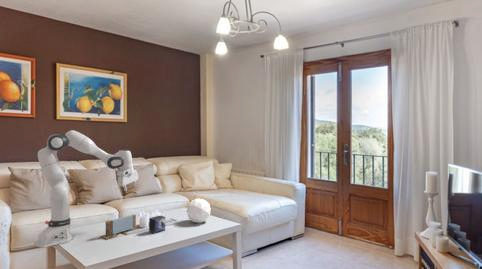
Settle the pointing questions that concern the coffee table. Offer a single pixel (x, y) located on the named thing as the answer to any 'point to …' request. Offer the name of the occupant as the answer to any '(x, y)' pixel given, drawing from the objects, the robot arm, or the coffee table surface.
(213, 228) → the coffee table surface
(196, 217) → the geometric orb
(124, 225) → the gate
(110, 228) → the gate post
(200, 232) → the coffee table surface
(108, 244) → the coffee table surface
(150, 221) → the small box
